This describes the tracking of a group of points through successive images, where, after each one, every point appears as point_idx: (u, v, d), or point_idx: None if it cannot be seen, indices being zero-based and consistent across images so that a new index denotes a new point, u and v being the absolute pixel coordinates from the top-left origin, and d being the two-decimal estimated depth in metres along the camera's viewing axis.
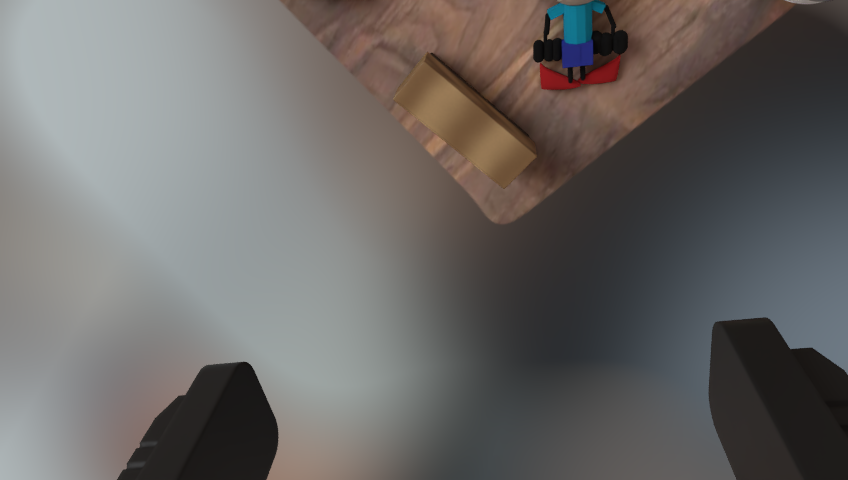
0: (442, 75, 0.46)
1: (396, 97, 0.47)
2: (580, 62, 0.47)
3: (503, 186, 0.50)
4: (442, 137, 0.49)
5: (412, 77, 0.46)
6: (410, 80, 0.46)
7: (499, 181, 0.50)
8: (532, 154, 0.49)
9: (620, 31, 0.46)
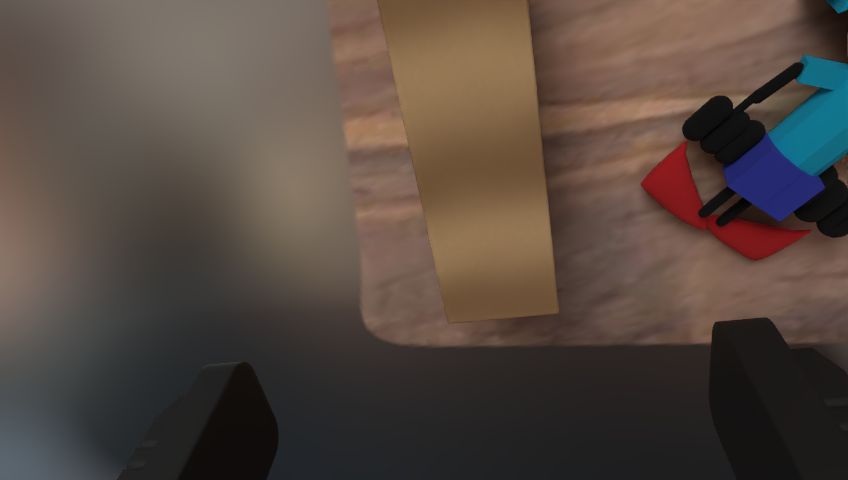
0: (528, 13, 0.16)
1: None
2: (764, 200, 0.20)
3: (451, 318, 0.21)
4: (414, 146, 0.18)
5: None
6: None
7: (452, 306, 0.21)
8: (554, 304, 0.21)
9: None
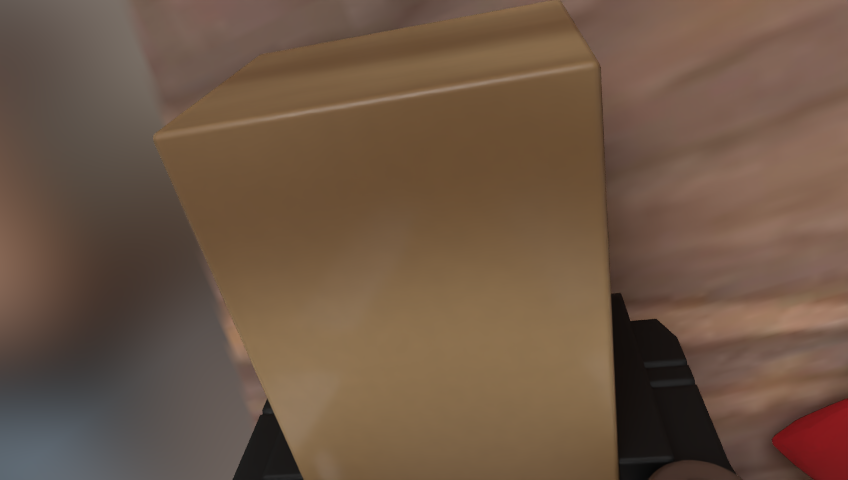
0: None
1: (186, 143, 0.05)
2: None
3: None
4: None
5: (409, 105, 0.05)
6: (377, 113, 0.05)
7: None
8: None
9: None
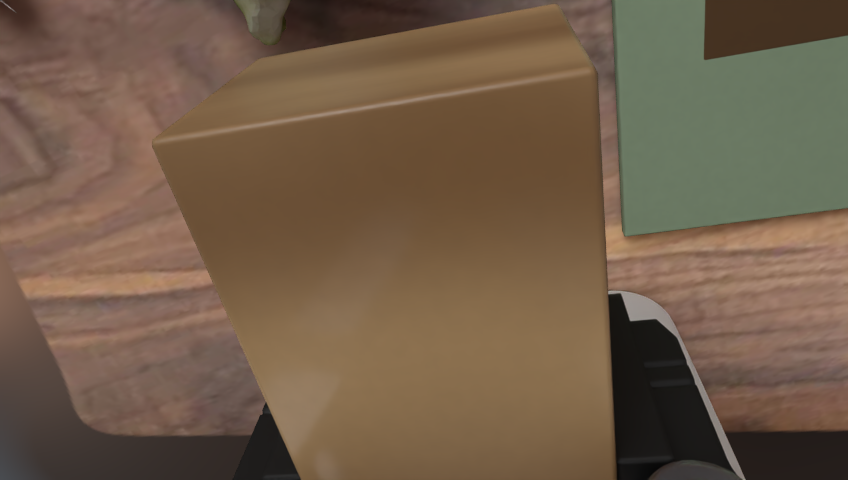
0: None
1: (185, 148, 0.05)
2: None
3: None
4: None
5: (407, 111, 0.05)
6: (375, 119, 0.05)
7: None
8: None
9: None
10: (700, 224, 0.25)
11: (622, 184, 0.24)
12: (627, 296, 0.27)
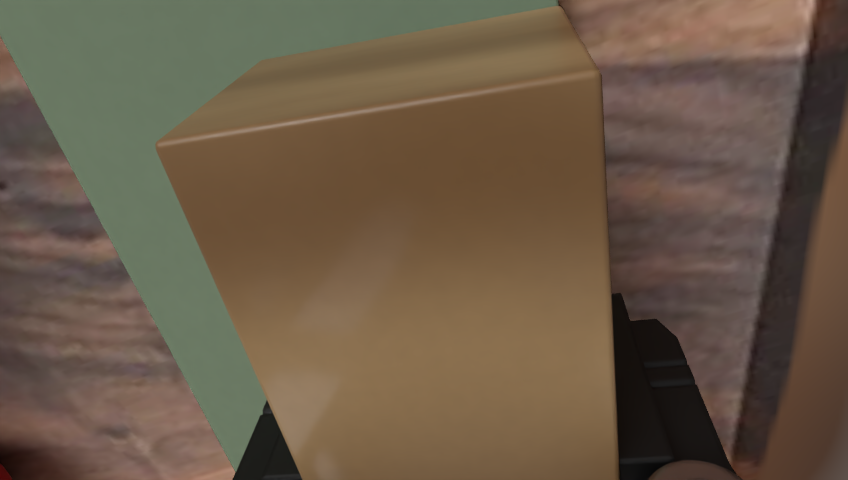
0: None
1: (188, 150, 0.05)
2: None
3: None
4: None
5: (411, 114, 0.05)
6: (379, 122, 0.05)
7: None
8: None
9: None
10: None
11: None
12: None
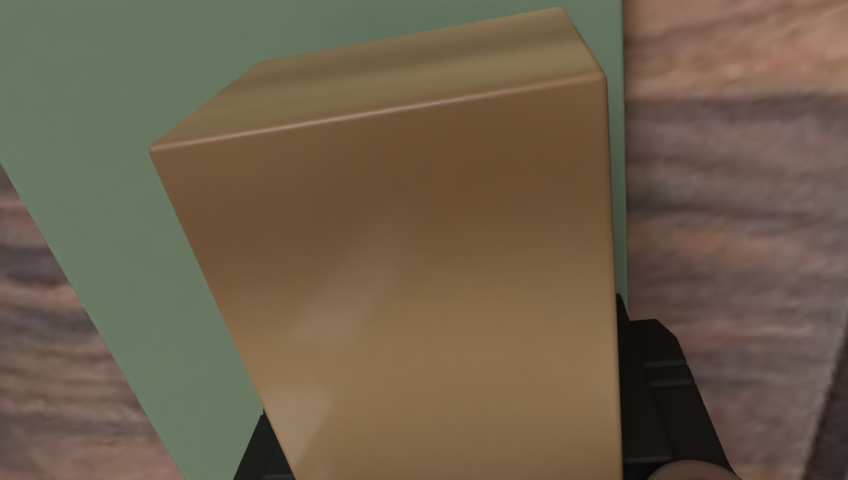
0: None
1: (182, 155, 0.05)
2: None
3: None
4: None
5: (411, 117, 0.05)
6: (378, 125, 0.05)
7: None
8: None
9: None
10: None
11: None
12: None
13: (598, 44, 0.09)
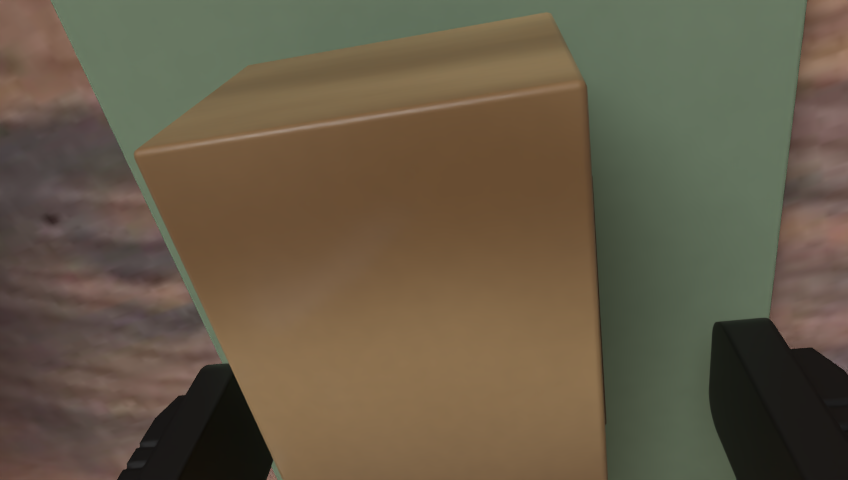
0: None
1: (167, 160, 0.05)
2: None
3: None
4: None
5: (393, 124, 0.05)
6: (361, 132, 0.05)
7: None
8: None
9: None
10: None
11: None
12: None
13: (779, 22, 0.08)
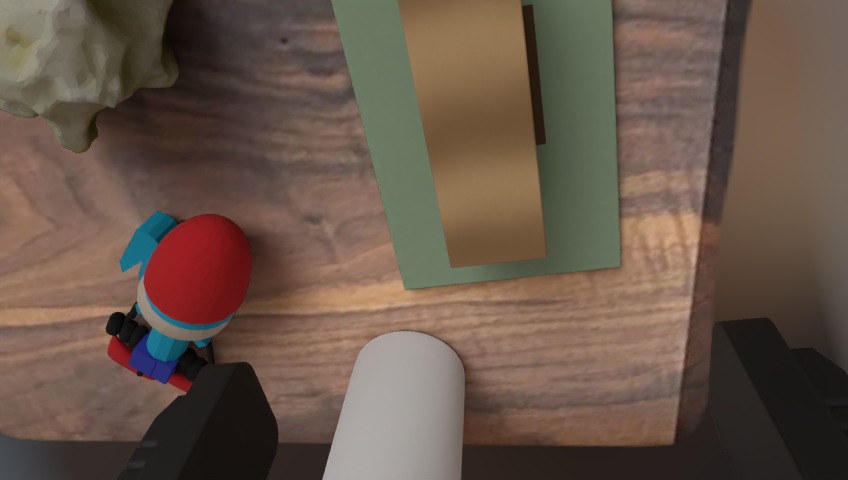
0: None
1: None
2: (152, 372, 0.34)
3: (453, 263, 0.25)
4: (423, 108, 0.21)
5: None
6: None
7: (454, 252, 0.24)
8: (543, 249, 0.24)
9: None
10: (461, 281, 0.31)
11: (395, 249, 0.30)
12: (414, 336, 0.32)
13: None
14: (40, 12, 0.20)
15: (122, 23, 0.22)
